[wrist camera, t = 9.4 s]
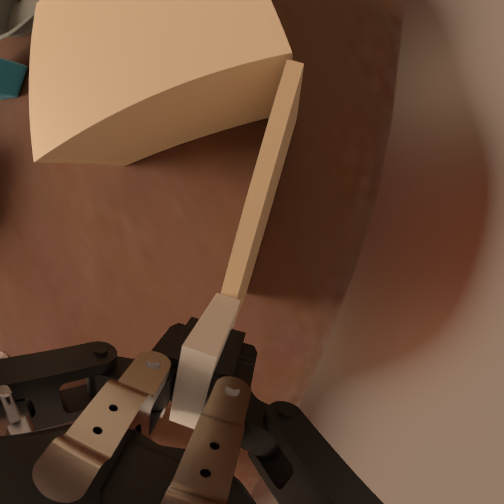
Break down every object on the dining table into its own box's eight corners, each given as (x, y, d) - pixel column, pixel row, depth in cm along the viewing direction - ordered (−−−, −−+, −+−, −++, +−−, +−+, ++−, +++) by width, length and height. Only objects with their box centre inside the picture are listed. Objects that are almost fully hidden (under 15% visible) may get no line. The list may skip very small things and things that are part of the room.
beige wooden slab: (299, 119, 22) (317, 6, 6) (247, 295, 26) (195, 436, 10) (285, 115, 22) (278, -2, 6) (235, 291, 26) (168, 426, 10)
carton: (290, 112, 23) (292, 52, 11) (124, 165, 25) (33, 162, 14) (246, -12, 20) (223, -90, 8) (105, 44, 22) (36, 3, 11)
